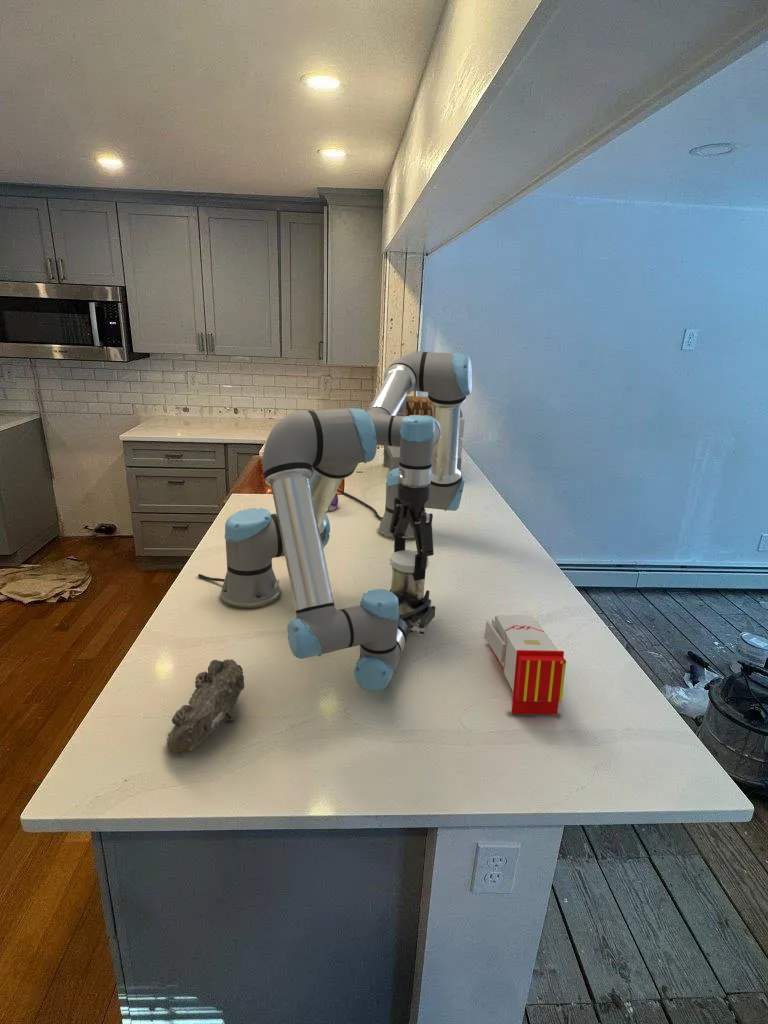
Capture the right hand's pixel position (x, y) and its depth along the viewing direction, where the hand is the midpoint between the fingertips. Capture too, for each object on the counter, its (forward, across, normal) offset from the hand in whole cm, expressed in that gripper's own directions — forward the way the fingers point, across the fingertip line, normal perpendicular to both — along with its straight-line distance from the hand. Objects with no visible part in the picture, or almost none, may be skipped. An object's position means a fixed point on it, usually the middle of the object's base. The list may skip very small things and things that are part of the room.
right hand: (408, 570), depth 139 cm
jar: (+14, 0, 0) cm, 14 cm away
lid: (-3, 0, 0) cm, 3 cm away
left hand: (+8, -3, +3) cm, 9 cm away
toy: (+14, +29, +11) cm, 35 cm away
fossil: (+14, +15, -52) cm, 56 cm away
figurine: (+15, -86, +15) cm, 88 cm away
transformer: (+15, -117, +76) cm, 140 cm away
